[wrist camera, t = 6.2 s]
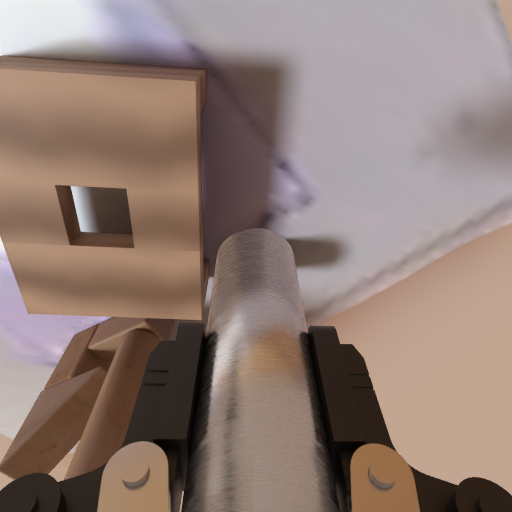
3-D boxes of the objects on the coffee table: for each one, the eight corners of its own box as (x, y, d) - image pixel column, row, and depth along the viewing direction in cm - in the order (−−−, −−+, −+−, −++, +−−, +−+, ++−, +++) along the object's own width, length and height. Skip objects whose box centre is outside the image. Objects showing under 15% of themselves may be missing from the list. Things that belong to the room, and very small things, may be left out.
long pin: (215, 226, 14) (152, 612, 5) (298, 228, 14) (383, 611, 5) (217, 291, 16) (172, 665, 7) (290, 293, 16) (343, 663, 7)
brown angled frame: (72, 333, 39) (-40, 530, 24) (154, 295, 37) (86, 490, 22) (96, 354, 41) (5, 550, 26) (176, 320, 38) (126, 515, 23)
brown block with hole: (1, 55, 25) (-62, 64, 20) (206, 69, 26) (195, 81, 21) (60, 270, 35) (28, 313, 30) (208, 277, 35) (201, 320, 30)
